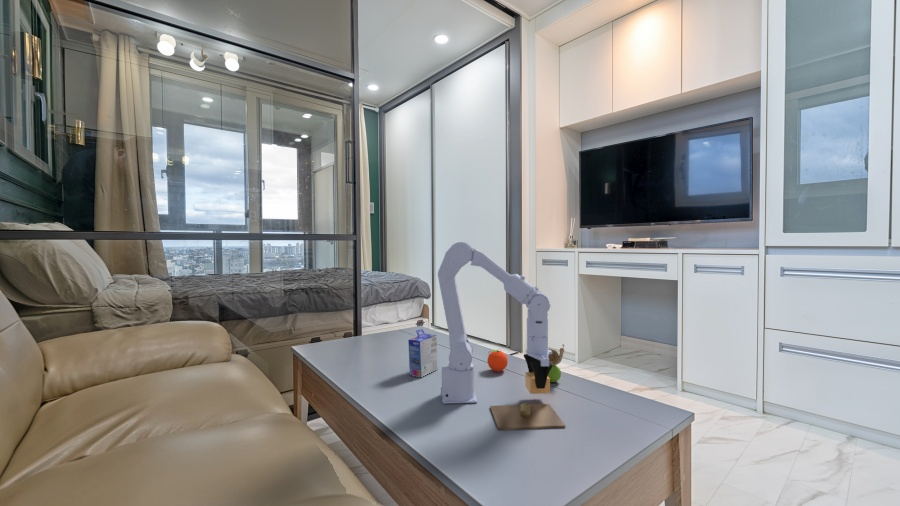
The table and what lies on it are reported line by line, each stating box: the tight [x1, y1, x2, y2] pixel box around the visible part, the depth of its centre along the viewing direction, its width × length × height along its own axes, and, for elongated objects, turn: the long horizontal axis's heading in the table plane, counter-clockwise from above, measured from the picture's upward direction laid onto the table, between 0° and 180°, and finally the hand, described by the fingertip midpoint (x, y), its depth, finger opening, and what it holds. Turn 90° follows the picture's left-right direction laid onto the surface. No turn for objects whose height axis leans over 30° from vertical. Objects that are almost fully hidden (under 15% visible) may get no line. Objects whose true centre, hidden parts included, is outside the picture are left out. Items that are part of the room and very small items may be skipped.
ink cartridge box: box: [407, 328, 439, 378], centre depth 128 cm, size 10×6×14 cm, turn 148°
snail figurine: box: [548, 343, 565, 383], centre depth 118 cm, size 5×6×12 cm
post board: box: [489, 402, 566, 431], centre depth 95 cm, size 16×12×3 cm
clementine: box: [487, 349, 509, 372], centre depth 130 cm, size 8×7×7 cm
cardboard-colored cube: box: [524, 371, 551, 395], centre depth 105 cm, size 5×5×4 cm
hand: (537, 383), depth 105 cm, fingers closed on cardboard-colored cube, 5 cm apart
